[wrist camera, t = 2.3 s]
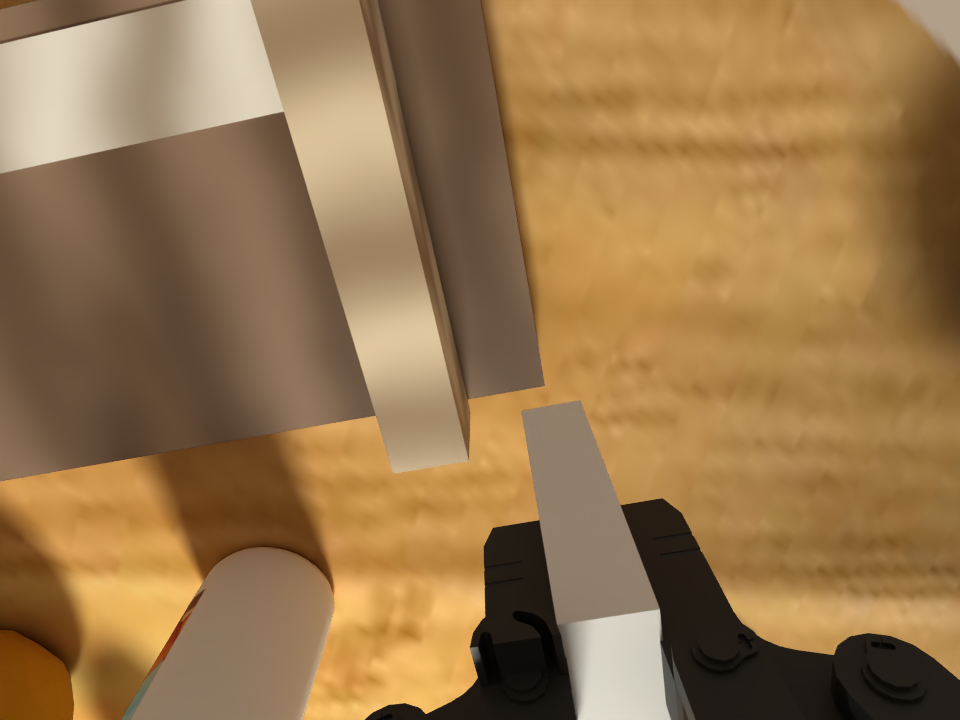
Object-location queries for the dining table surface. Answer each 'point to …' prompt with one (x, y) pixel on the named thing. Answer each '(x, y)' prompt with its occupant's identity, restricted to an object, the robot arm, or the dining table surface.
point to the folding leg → (371, 219)
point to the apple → (32, 681)
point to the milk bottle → (243, 643)
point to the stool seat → (218, 229)
